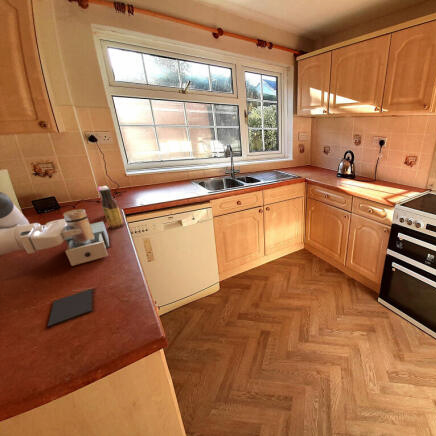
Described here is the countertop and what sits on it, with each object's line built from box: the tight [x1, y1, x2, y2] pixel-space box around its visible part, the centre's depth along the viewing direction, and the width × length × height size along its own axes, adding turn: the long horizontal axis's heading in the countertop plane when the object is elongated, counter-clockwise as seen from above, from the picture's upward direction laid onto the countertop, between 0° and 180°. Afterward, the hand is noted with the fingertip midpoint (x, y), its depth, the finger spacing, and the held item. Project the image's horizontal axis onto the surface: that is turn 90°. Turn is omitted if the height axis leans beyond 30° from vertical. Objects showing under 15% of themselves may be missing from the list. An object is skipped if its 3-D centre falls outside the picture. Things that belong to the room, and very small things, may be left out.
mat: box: [47, 288, 93, 328], centre depth 70 cm, size 9×12×1 cm
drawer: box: [65, 233, 109, 267], centre depth 95 cm, size 14×11×6 cm
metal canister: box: [62, 208, 97, 247], centre depth 93 cm, size 6×6×17 cm
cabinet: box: [64, 220, 110, 249], centre depth 103 cm, size 13×12×8 cm
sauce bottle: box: [100, 187, 124, 230], centre depth 120 cm, size 6×6×20 cm
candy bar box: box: [96, 185, 109, 202], centre depth 136 cm, size 11×5×16 cm, turn 38°
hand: (83, 227), depth 92 cm, fingers closed on metal canister, 6 cm apart
